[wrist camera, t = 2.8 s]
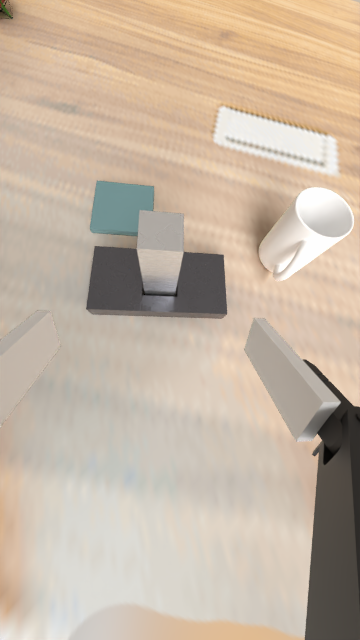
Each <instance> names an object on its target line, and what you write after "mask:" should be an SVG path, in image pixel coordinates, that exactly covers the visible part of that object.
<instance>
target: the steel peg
mask: <svg viewBox="0 0 360 640" xmlns="http://www.w3.org/2000/svg"><path fill="white" fill-rule="evenodd" d="M137 253H138V258H139V264H140V269H141V275H142V280H143V286H144V291H145V295H147V296H170V297H174V296H175V291H176V286H177V282H178V277H179V272H180V267H181V262H182V258H183V253H184V214H180V213H168V212H157V211H146V210H140V211H139V224H138V238H137Z"/></svg>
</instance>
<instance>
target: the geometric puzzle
mask: <svg viewBox="0 0 360 640" xmlns="http://www.w3.org/2000/svg"><path fill="white" fill-rule="evenodd" d="M4 1H5V0H0V8H1V7H2V10H4V11H5V12H6V13H7V14H8V15H9V17H10V18H12V19H13V17H11V15H10V14H9V12H8V11H7V9H6V8H5V5H3V3H4ZM8 1H9V0H8ZM6 2H7V1H6ZM5 4H6V3H5ZM9 5H10V4H9ZM2 10H0V12H1V11H2ZM10 10H11V9H10ZM3 13H4V12H3ZM7 14H6V15H7ZM11 14H12V13H11ZM8 15H7V16H8ZM12 16H13V14H12ZM6 19H9V18H6Z"/></svg>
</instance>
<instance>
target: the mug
mask: <svg viewBox="0 0 360 640" xmlns="http://www.w3.org/2000/svg"><path fill="white" fill-rule="evenodd" d="M353 225H354V216H353V213H352V210H351V208H350V207H349V205H348V204H347V202H346V201H345V200H344V199H343V198H342V197H340V196H339V195H338V194H336V193H335V192H333V191H331V190H328V189H325V188H320V187H312V188H308V189H305V190H303V191H302V192H301V193H300V194H299V195H298V196H297V197H296V199H295V200H294V201H293V202H292V204H291V205H290V206H289V207H288V209H287V210H286V211H285V212H284V214H283V215H282V216H281V217H280V219H279V220H278V221H277V223H276V224H275V225H274V226H273V228H272V229H271V230H270V231H269V233H268V234H267V235H266V236H265V238H264V239H263V240H262V242H261V244H260V246H259V258H260V261H261V262H262V264H263V265H264V267H265V268H266V269H268V270H269V271H270V272H272V273H273V278H274V279H275V280H276V281H283V280H285V279H287V278H288V277H290V276H291V275H292V274H293V273H295V272H296V271H298V270H299V269H301V268H302V267H304V266H305V265H306V264H308V263H309V262H311V261H312V260H313V259H315V258H316V257H317V256H319V255H320V254H322V253H323V252H324V251H326V250H327V249H329V248H330V247H331V246H333V245H334V244H335V243H337V242H338V241H340V240H341V239H342V238H344V237H345V236H346V235H348V234H349V233H350V231H351V230H352V228H353Z"/></svg>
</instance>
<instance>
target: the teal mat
mask: <svg viewBox="0 0 360 640" xmlns="http://www.w3.org/2000/svg"><path fill="white" fill-rule="evenodd" d="M153 202H154V186H144V185H134V184H124V183H114V182H105V181H97V183H96V190H95V197H94V204H93V210H92V217H91V224H90V230H91V232H92V233H104V234H117V235H131V236H138V224H139V211H140V210H146V211H153Z"/></svg>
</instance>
